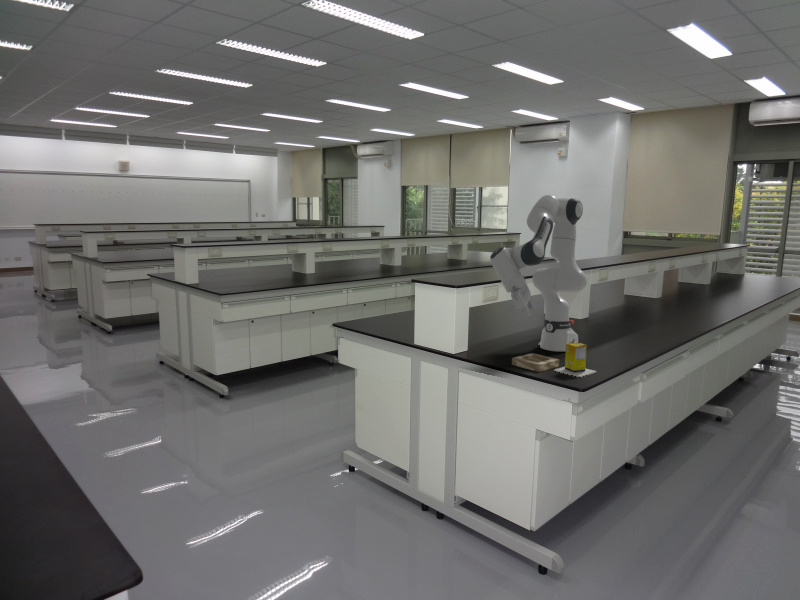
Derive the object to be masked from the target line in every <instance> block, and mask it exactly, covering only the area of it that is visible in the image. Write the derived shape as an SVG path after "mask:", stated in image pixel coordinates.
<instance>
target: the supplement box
mask: <svg viewBox="0 0 800 600" xmlns="http://www.w3.org/2000/svg"><path fill="white" fill-rule="evenodd" d="M587 346H588V345H587V344H585V343H581V342H579V341H578V342H576V343H566V351H565V358H564V360H565V362H564V367H565V369H566V370H569V371H572V372H580V371H585V369H587V367H586V364H587V363H586V362H587V350H588V349H587Z"/></svg>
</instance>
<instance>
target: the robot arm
mask: <svg viewBox="0 0 800 600" xmlns="http://www.w3.org/2000/svg"><path fill="white" fill-rule="evenodd" d="M583 210H584V207H583V204H582V202H581V201H580V200H579V199H577V198H557V197H555V196H554V195H551V194H544V195H543V196H541V197H540V198H539V199H538V200H537V202H535V204H534V205H533V207H532V208H531V210H530V212H529V213H528V215H527V218H526V225H527V226H528V228H529V230H530V231H531V232H533V233H534V235H533V237H532V238H531V240H529V241H527V242H525V243H523V244H521V245H518V246H515V247H505V246H500V247H498V248H497V249H496V250H494V251H493V252H492V253H491V254H490V256H489V260H490V263H491V265H492V268H493V270H494V271H495V273H496V274H497V276H498V277H499V278H500V283H502V285H503V288H504V290H505V291H506V293H508V294H510V297H511V299H512V302H513V304H514V306H515V308H516V310H517V311H522V312H523V313H524V314H525V315H526V317H527V318H529V317H531V315H532V313H531V310H533V309H534V305H533V303H532V301H531V296H532V294H531V290H530V289H529V287H528V284H527V282H526V276H524V275H523V274H522V272H521V271H520V270H523V269H526V268H529V267H533V266H536V265H540V264H541V263H542V262H543V261H544V260H545V257H546V249H547V245H548V243H549V240H550V237H551V243H550V251H549V253H550V256H551V257H552V259H553V260H555V261H557V262H558V263H559V265H560V267H558V268H557V267H542V268H538V269H536V270H535V271H534V273H533V275H532V277H531V278H532V283H533V286H534V287H535V289H538V291H539V293H540V294H541V296H542V298H543V300H544V305H545V306H544V307H545V309H544V310H545V311H544V312H545V314H544V320H543V329H541V330H542V331H541V337H540V342H538V346H539V345H540V346H539V347H540V349H543V350H546V351H549V352H566V343H576V342H578V343H579V335H578V334H577V333H576V331H574V330H573V328H572V326H571V325H574V323H575V321H574V319H572V320H571V319H570V309H571V308H570V304H569V302H568V301H567V300H565V299H564V298H563V297H561V295H560V293H559V292H564V293H580V292H582V291H584V289H585V288H586V287H587V284H588V278H587V275H586V273H585V272H584V271H583V270H582V269H581V268H580V267H579V266H578V263H577V260H576V256H575V255H576V252H575V251H576V242H577V241H576V240H577V222H578V221H579V220H580V219H581V217H582V215H583Z"/></svg>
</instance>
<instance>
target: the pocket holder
mask: <svg viewBox="0 0 800 600" xmlns="http://www.w3.org/2000/svg"><path fill="white" fill-rule="evenodd" d="M511 365H512V366H515V367H518V368H523V369H526V370H530V371H534V372H537V373H541V372H544V371H548V370H551V369H556V368H558V367H559V368H560V359H559V358H554V357H550V356H546V355H542V354H537V353H533V352H531V353H527V354H523V355H519V356H516V357H515V356H514V357H512V358H511Z"/></svg>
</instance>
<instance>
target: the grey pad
mask: <svg viewBox="0 0 800 600" xmlns="http://www.w3.org/2000/svg"><path fill="white" fill-rule="evenodd" d="M553 371H554V372H555V371H556V372H557V373H559V372H560V374H563V373H564V374H563V375H567V374H568V375H567V376H571V375H573V376H572V377H575V376H576V378H579V377H581V378H584V377H587V376H590V375H592V374H593V375H594V374H595V373H597V370H594V369H588V368H585V371H580V372H572V371H569V370H566V369H565V366H562V367H559V368H558V367H557V368H554V370H553ZM586 375H587V376H586ZM583 376H584V377H583Z"/></svg>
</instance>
